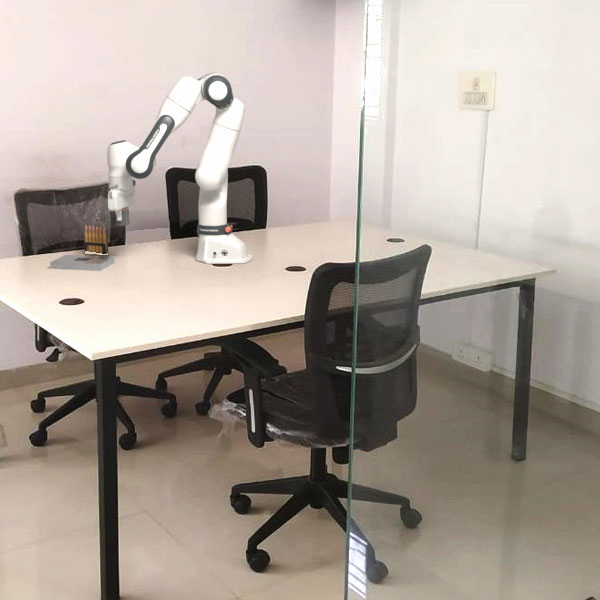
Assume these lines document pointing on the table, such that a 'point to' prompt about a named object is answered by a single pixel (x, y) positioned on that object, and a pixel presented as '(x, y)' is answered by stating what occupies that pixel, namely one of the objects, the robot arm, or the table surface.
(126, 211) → the plug
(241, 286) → the table surface
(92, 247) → the ammunition clip
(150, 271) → the table surface
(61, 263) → the socket plate
